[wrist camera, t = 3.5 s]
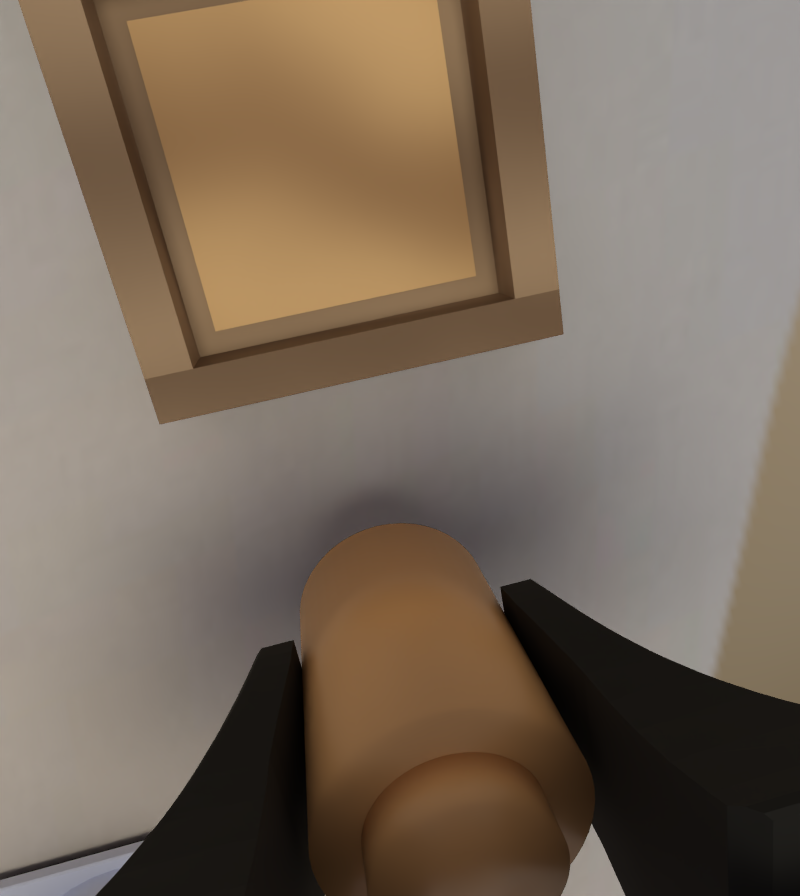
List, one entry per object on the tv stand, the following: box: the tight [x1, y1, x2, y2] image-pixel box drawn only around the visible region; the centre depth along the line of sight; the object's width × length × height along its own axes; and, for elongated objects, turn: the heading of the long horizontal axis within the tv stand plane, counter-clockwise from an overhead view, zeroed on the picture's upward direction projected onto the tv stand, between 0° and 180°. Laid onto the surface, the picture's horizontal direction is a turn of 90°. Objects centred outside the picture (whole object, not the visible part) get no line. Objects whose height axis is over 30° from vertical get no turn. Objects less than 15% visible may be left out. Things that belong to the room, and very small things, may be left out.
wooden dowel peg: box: [300, 523, 595, 896], centre depth 11 cm, size 4×4×6 cm
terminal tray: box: [18, 0, 563, 424], centre depth 14 cm, size 9×9×2 cm
